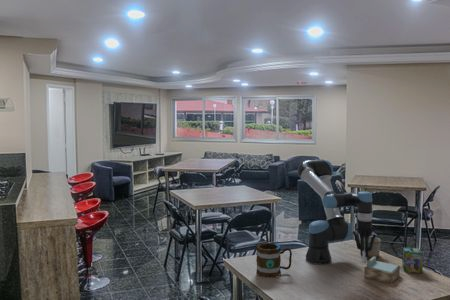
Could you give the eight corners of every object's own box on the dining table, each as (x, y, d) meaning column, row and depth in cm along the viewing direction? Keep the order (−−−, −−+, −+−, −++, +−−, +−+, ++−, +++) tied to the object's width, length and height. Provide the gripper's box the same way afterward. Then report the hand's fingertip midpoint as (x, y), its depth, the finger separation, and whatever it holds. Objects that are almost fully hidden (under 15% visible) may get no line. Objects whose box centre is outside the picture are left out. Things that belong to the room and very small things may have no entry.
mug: (257, 277, 207) (256, 250, 206) (255, 268, 221) (255, 242, 220) (293, 277, 207) (293, 250, 206) (290, 268, 220) (290, 242, 219)
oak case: (364, 277, 207) (364, 267, 207) (373, 269, 218) (373, 260, 217) (391, 283, 198) (391, 273, 198) (399, 275, 209) (399, 265, 208)
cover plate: (366, 269, 207) (366, 261, 207) (373, 263, 216) (373, 256, 216) (391, 275, 199) (391, 267, 199) (398, 268, 208) (398, 261, 208)
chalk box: (422, 273, 211) (423, 247, 210) (404, 272, 214) (404, 245, 213) (419, 267, 220) (419, 242, 219) (401, 266, 223) (402, 241, 222)
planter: (357, 251, 249) (357, 235, 248) (377, 252, 247) (377, 236, 246) (361, 258, 236) (361, 241, 236) (382, 259, 235) (383, 242, 234)
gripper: (350, 219, 213) (350, 261, 215) (374, 223, 205) (374, 266, 206) (355, 217, 219) (355, 258, 220) (379, 220, 211) (378, 263, 212)
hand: (364, 262), depth 213 cm, fingers closed
